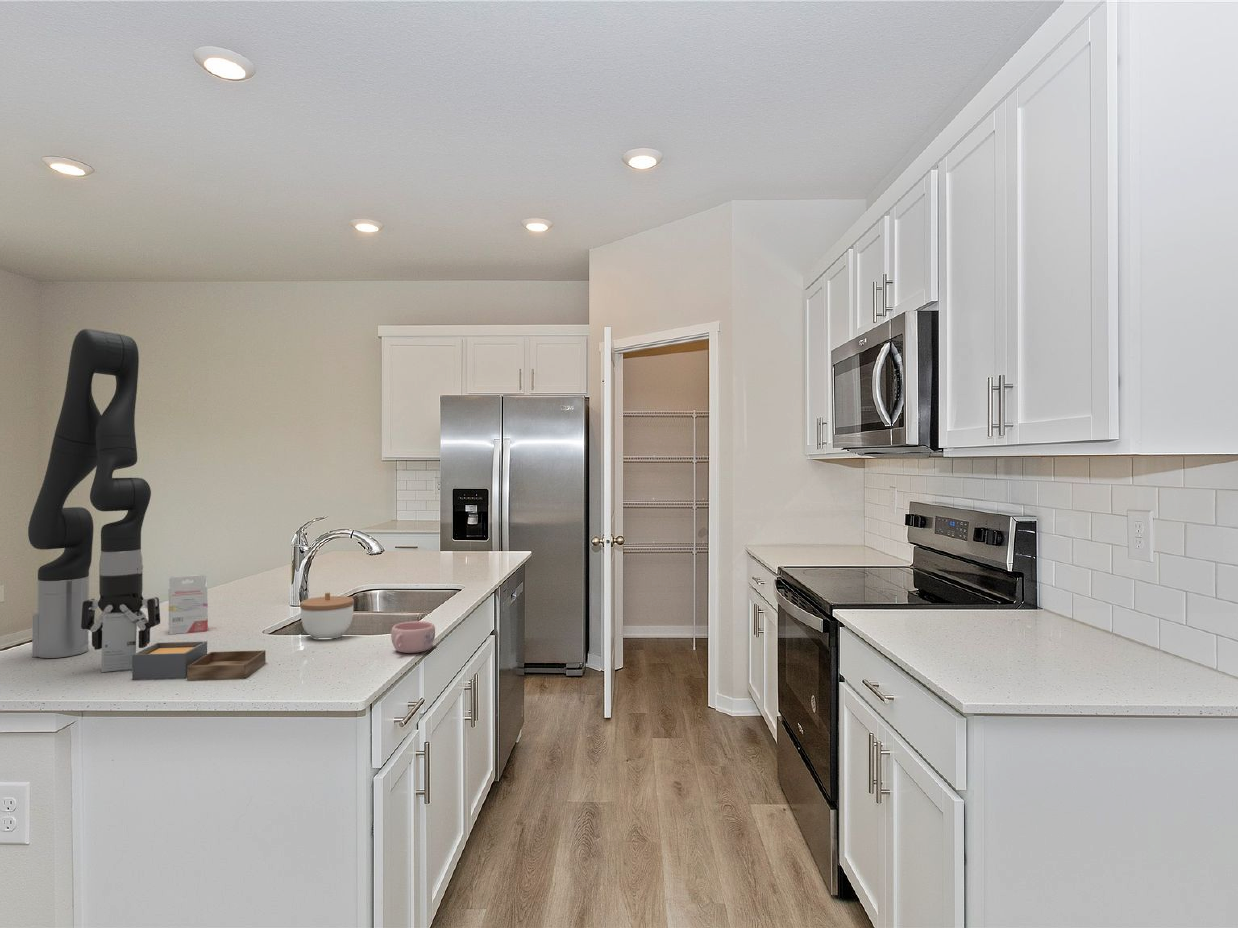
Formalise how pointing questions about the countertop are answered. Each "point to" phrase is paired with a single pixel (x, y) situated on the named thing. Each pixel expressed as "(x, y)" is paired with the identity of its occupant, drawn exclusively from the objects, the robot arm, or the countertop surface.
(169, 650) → the orange flat square block
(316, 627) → the lidded bowl
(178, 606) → the ink cartridge box
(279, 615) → the countertop surface
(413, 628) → the mug
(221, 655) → the wooden square tray
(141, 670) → the tray
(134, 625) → the skincare box
